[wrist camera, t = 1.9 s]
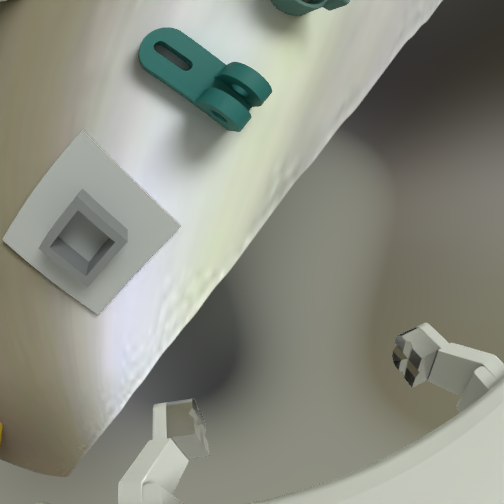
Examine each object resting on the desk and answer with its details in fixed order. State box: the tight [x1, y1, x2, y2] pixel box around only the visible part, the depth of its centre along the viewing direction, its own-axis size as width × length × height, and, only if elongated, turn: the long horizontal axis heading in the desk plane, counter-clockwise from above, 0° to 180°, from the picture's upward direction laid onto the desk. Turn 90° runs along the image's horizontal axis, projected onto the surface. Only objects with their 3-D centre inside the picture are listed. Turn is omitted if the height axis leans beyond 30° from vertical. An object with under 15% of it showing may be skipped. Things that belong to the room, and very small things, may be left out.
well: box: [2, 130, 181, 315], centre depth 35 cm, size 20×20×6 cm
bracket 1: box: [139, 28, 272, 132], centre depth 32 cm, size 18×7×8 cm, turn 51°
